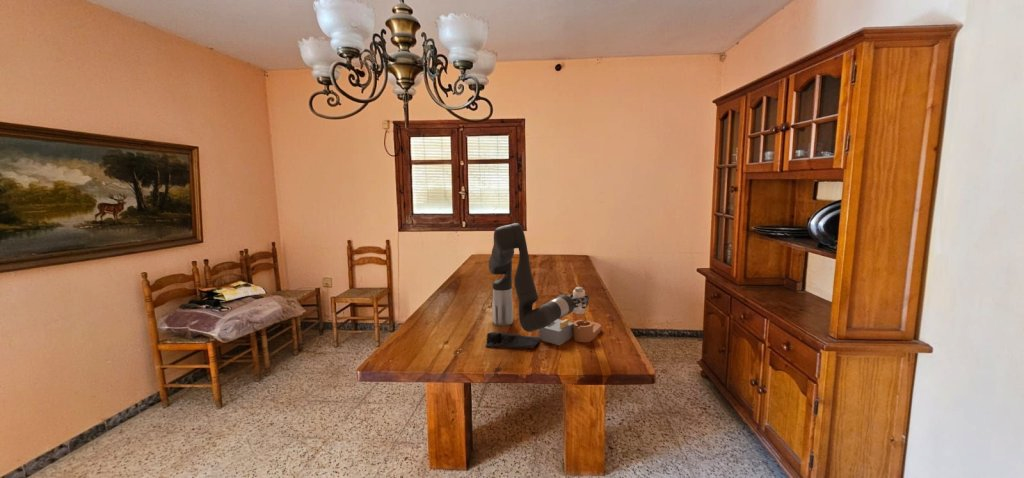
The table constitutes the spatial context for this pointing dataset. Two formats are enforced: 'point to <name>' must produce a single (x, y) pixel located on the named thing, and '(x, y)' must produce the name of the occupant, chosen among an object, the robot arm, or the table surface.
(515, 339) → the dark slate chunk
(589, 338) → the bracket
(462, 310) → the table surface
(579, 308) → the white bottle
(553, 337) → the block
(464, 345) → the table surface
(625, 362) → the table surface
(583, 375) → the table surface
